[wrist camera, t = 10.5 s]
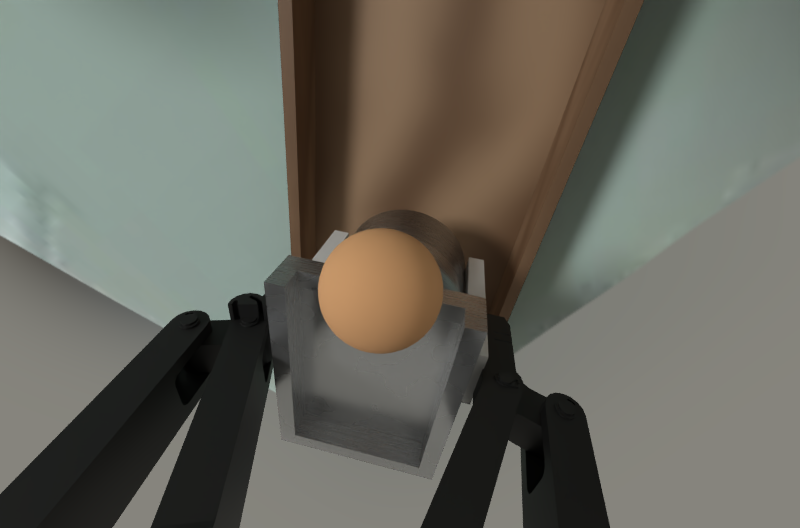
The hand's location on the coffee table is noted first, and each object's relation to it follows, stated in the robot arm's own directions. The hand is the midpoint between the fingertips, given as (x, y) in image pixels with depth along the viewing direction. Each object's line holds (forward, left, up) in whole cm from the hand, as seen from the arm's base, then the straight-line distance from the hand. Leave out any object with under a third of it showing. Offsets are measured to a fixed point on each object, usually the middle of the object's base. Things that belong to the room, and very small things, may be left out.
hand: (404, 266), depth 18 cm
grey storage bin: (0, 0, 0) cm, 0 cm away
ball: (0, +5, +10) cm, 11 cm away
